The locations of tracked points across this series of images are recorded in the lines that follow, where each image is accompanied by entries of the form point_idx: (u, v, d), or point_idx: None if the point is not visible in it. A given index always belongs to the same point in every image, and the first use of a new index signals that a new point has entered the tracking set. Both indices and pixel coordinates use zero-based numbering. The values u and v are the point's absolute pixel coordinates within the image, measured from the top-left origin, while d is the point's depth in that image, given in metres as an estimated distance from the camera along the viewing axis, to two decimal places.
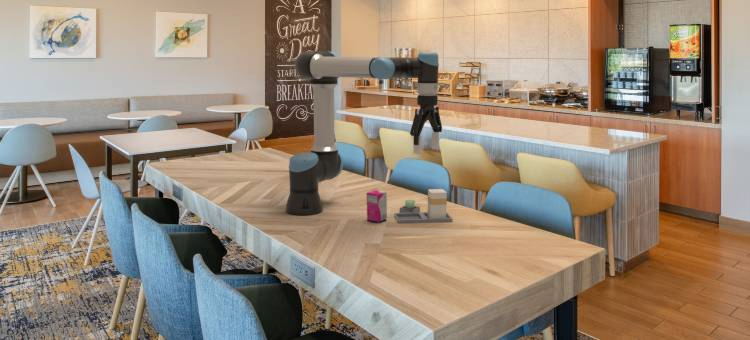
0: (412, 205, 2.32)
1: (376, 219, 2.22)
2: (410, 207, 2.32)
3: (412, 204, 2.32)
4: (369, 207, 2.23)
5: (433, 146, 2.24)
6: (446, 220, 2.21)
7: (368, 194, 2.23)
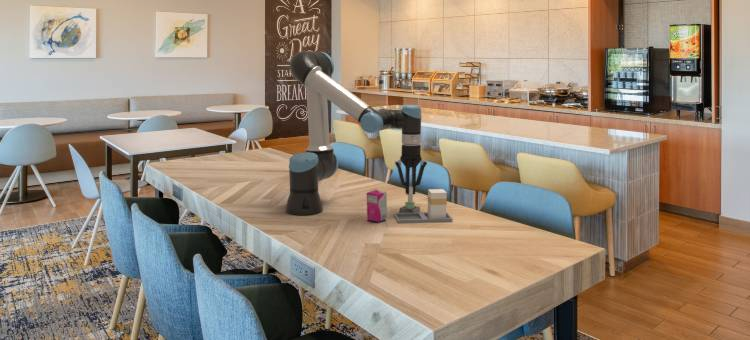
0: (412, 207, 2.32)
1: (376, 219, 2.22)
2: None
3: (412, 206, 2.32)
4: (369, 207, 2.23)
5: None
6: (446, 220, 2.21)
7: (368, 194, 2.23)
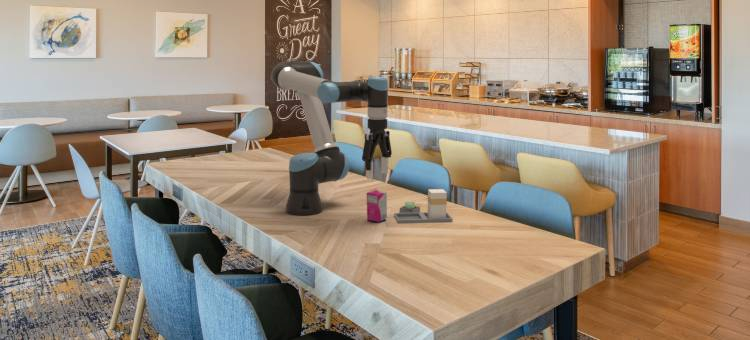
0: (412, 207, 2.32)
1: (376, 219, 2.22)
2: None
3: (412, 206, 2.32)
4: (369, 207, 2.23)
5: (382, 171, 2.27)
6: (446, 220, 2.21)
7: (368, 194, 2.23)
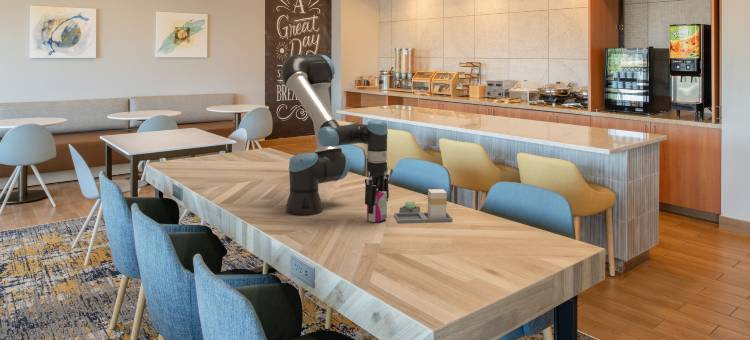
0: (412, 207, 2.32)
1: (376, 219, 2.22)
2: None
3: (412, 206, 2.32)
4: None
5: None
6: (446, 220, 2.21)
7: None
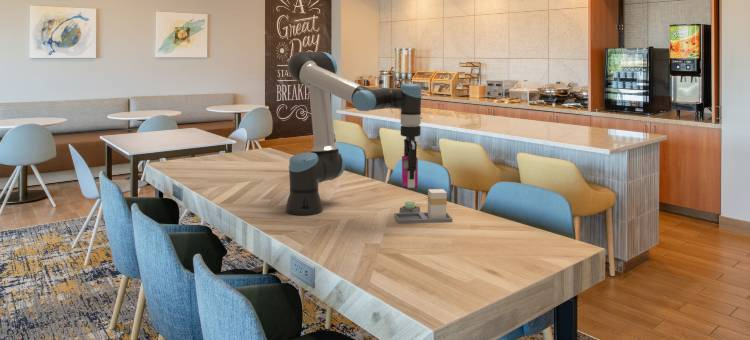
0: (412, 207, 2.32)
1: (415, 184, 2.19)
2: None
3: (412, 206, 2.32)
4: (407, 173, 2.18)
5: None
6: (446, 220, 2.21)
7: (405, 160, 2.17)
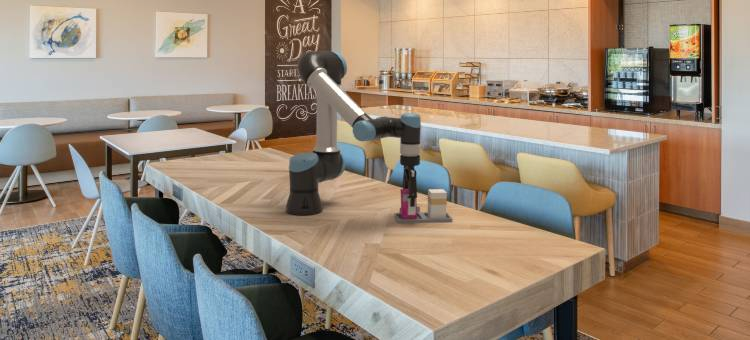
0: None
1: (415, 217, 2.21)
2: None
3: None
4: (406, 206, 2.20)
5: None
6: (446, 220, 2.21)
7: (404, 193, 2.19)
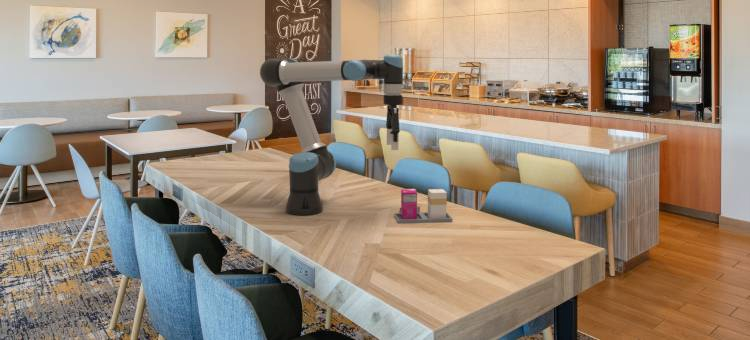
0: None
1: (415, 217, 2.21)
2: None
3: None
4: (406, 206, 2.20)
5: (388, 142, 2.40)
6: (446, 220, 2.21)
7: (405, 194, 2.19)
